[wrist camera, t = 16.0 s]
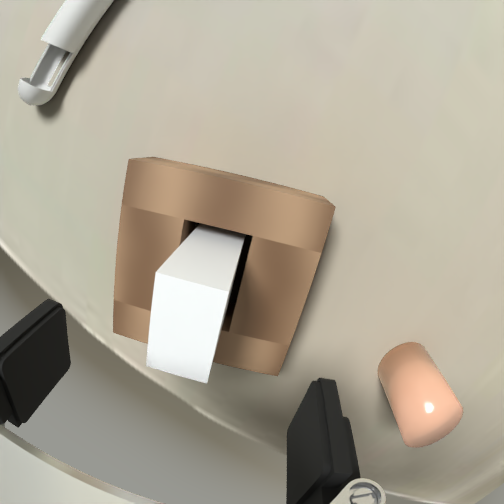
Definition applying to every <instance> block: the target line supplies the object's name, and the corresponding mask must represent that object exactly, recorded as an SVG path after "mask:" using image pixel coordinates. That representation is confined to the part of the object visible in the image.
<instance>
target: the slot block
mask: <svg viewBox="0 0 504 504" xmlns="http://www.w3.org/2000/svg"><path fill="white" fill-rule="evenodd" d="M334 211H335V206H334V205H333V204H332V203H330V202H329V201H328V200H327V199H326V198H325V197H323V196H319V195H316V194H312V193H309V192H305V191H301V190H297V189H294V188H290V187H286V186H282V185H278V184H274V183H270V182H266V181H262V180H258V179H254V178H250V177H246V176H242V175H237V174H233V173H229V172H224V171H220V170H215V169H211V168H206V167H201V166H197V165H192V164H187V163H182V162H177V161H172V160H166V159H161V158H156V157H146V158H135V159H129V161H128V167H127V173H126V179H125V185H124V192H123V199H122V207H121V215H120V223H119V233H118V243H117V254H116V268H115V285H114V311H113V332H114V333H116V334H119V335H122V336H125V337H128V338H131V339H134V340H137V341H141V342H144V343H147V344H148V337H149V326H150V316H151V307H152V298H153V290H154V282H155V274H156V271H157V270H158V269H159V268H160V267H161V266H162V265H163V263H164V262H165V261H166V260H167V259H168V258H169V257H170V256H171V255H172V254H173V252H174V251H175V250H176V249H177V248H178V247H179V246H180V245H181V244H182V243H183V241H184V240H185V239H186V238H187V237H188V236H189V235H190V234H191V233H192V232H193V231H194V230H195V226H196V222H198V223H202V224H206V225H210V226H215V227H219V228H223V229H227V230H231V231H235V232H239V233H243V234H247V235H251V236H252V239H251V243H250V247H249V251H248V255H247V259H246V263H245V267H244V271H243V275H242V279H241V283H240V287H239V291H238V295H237V299H236V303H231V302H229V303H228V306H227V310H226V314H225V318H224V321H223V325H222V329H221V333H220V336H219V340H218V344H217V348H216V351H215V355H214V359H213V362H215V363H219V364H223V365H228V366H232V367H236V368H241V369H245V370H250V371H255V372H259V373H264V374H269V375H275V376H278V374H279V372H280V369H281V367H282V364H283V361H284V359H285V356H286V354H287V351H288V348H289V346H290V343H291V340H292V338H293V335H294V332H295V329H296V327H297V324H298V321H299V318H300V315H301V313H302V310H303V307H304V304H305V301H306V298H307V295H308V292H309V290H310V287H311V284H312V281H313V278H314V275H315V272H316V269H317V265H318V262H319V259H320V256H321V253H322V250H323V247H324V244H325V240H326V237H327V234H328V231H329V227H330V224H331V221H332V217H333V214H334Z"/></svg>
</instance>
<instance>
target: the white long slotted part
mask: <svg viewBox="0 0 504 504" xmlns="http://www.w3.org/2000/svg"><path fill="white" fill-rule="evenodd" d="M113 1H114V0H66V1H65V2H64V4H63V5H62V6H61V8H60V9H59V11H58V12H57V14H56V15H55V17H54V18H53V20H52V21H51V23H50V25H49V26H48V28H47V29H46V31H45V33H44V34H43V36H42V38H41V40H43V41H45V42H47V43H49V44H48V45H47V47H46V49H45V50H44V52H43V54H42V56H41V58H40V60H39V61H38V63H37V65H36V67H35V69H34V71H33V73H32V75H31V77H30V78H23V77H21V78H20V81H19V85H18V93H19V97H20V98H21V99H22V100H23V101H24V102H25V103H27V104H28V105H43V104H44V103H46V102H48V101H49V100H51V98H52V97H53V96H54V94H55V93H56V91H57V89H58V87H59V86H60V84H61V82H62V80H63V78H64V76H65V74H66V73H67V71H68V69H69V67H70V65H71V64H72V62H73V60H74V59H75V57H76V55H77V54H78V52H79V50H80V49H81V47H82V45H83V44H84V42H85V41H86V39H87V38H88V36H89V35H90V33H91V32H92V30H93V29H94V27H95V26H96V24H97V23H98V21H99V20H100V19H101V17H102V16H103V14H104V13H105V12H106V10H107V9H108V8H109V6H110V5H111V4H112V2H113ZM66 51H69V52H70V53H69V55H68V57H67V59H66V60H65V62H64V64H63V66H62V67H61V69H60V71H59V73H58V75H57V76H56V78H55V80H54V82H53V84H52V86H51V87H50V86H48V83H49V81H50V79H51V78H52V76H53V74H54V72H55V70H56V68H57V66H58V65H59V63H60V61H61V59H62V58H63V56H64V54H65V53H66Z"/></svg>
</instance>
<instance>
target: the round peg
mask: <svg viewBox="0 0 504 504" xmlns="http://www.w3.org/2000/svg"><path fill="white" fill-rule="evenodd" d="M378 376H379V379H380V381H381V384H382V386H383V389H384V391H385V394H386V396H387V399H388V401H389V404H390V406H391V409H392V411H393V414H394V416H395V419H396V422H397V424H398V427H399V430H400V432H401V435H402V438H403V440H404V443H405V444H406V445H407V446H409V447H423V446H427V445H430V444H432V443H435V442H436V441H438V440H440V439H442V438H443V437H445V436H446V435H447V434H449V433H450V432H451V431H452V430H453V429H454V428H455V427H456V426H457V424H458V423H459V421H460V420H461V418H462V415H463V408H462V406H461V404H460V403H459V401H458V399H457V398H456V396H455V394H454V393H453V391H452V389H451V388H450V386H449V385H448V383H447V381H446V380H445V378H444V377H443V375H442V374H441V372H440V370H439V369H438V367H437V366H436V364H435V363H434V361H433V360H432V358H431V357H430V355H429V354H428V352H427V351H426V349H425V348H424V347H423V346H422V345H421V344H419V343H415V342H408V343H404V344H401V345H398V346H396V347H395V348H393V349H392V350H390V351H389V352H388V353H387V354H386V355H385V356H384V357H383V359H382V360H381V362H380V364H379V367H378Z"/></svg>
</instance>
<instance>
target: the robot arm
mask: <svg viewBox="0 0 504 504" xmlns="http://www.w3.org/2000/svg"><path fill="white" fill-rule="evenodd" d="M70 363H71V361H70V353H69V345H68V336H67V326H66V315H65V310H64V309H63V306H62V304H60V303H58V302H56V301H53V300H50V299H47V300H46V301H44V302H43V303H42V304H40V305H39V306H38V307H37V308H35V309H34V310H33V311H31V312H30V313H29V314H28V315H26V316H25V317H24V318H23V319H21V320H20V321H19V322H18V323H17V324H15V325H14V326H13V327H12V328H10V329H9V330H8V331H7V332H6V333H4V334H3V335H2V336H1V337H0V504H164V503H161V502H158V501H155V500H151V499H148V498H145V497H142V496H139V495H137V494H134V493H131V492H128V491H126V490H123V489H120V488H118V487H115V486H113V485H110V484H108V483H105V482H103V481H101V480H99V479H96V478H94V477H92V476H90V475H87V474H85V473H83V472H81V471H79V470H77V469H75V468H73V467H71V466H69V465H67V464H65V463H63V462H61V461H59V460H57V459H56V458H54V457H52V456H50V455H48V454H46V453H45V452H43V451H41V450H40V449H38V448H36V447H34V446H33V445H31V444H29V443H27V442H26V441H25V440H23V439H22V438H20V437H18V436H17V435H15V434H14V433H12V432H11V431H9V430H8V429H6V428H5V422H6V421H7V420H8V421H9V422H11V423H12V424H13V425H15V426H17V427H19V426H20V425H21V424H22V423H26V422H27V421H28V419H29V418H30V417H31V415H32V414H33V413H34V412H35V410H36V409H37V408H38V406H39V405H40V404H41V403H42V402H43V400H44V399H45V398H46V396H47V395H48V394H49V393H50V392H51V390H52V389H53V388H54V387H55V385H56V384H57V383H58V382H59V380H60V379H61V378H62V377H63V376H64V374H65V373H66V372H67V371H68V369H69V367H70ZM385 502H386V495H385V492H384V490H383V489H382V487H381V486H380V485H379V484H378V483H376V482H375V481H372V480H370V479H365V478H361V477H360V472H359V466H358V461H357V456H356V450H355V445H354V440H353V435H352V430H351V425H350V421H349V419H348V418H347V417H343V416H342V411H341V406H340V401H339V396H338V391H337V386H336V382H335V380H330V379H324V378H319V379H318V380H317V381H312V382H311V384H310V386H309V388H308V390H307V392H306V394H305V396H304V398H303V400H302V402H301V404H300V406H299V408H298V410H297V412H296V414H295V416H294V418H293V420H292V422H291V424H290V426H289V428H288V432H287V502H286V503H287V504H385Z"/></svg>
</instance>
